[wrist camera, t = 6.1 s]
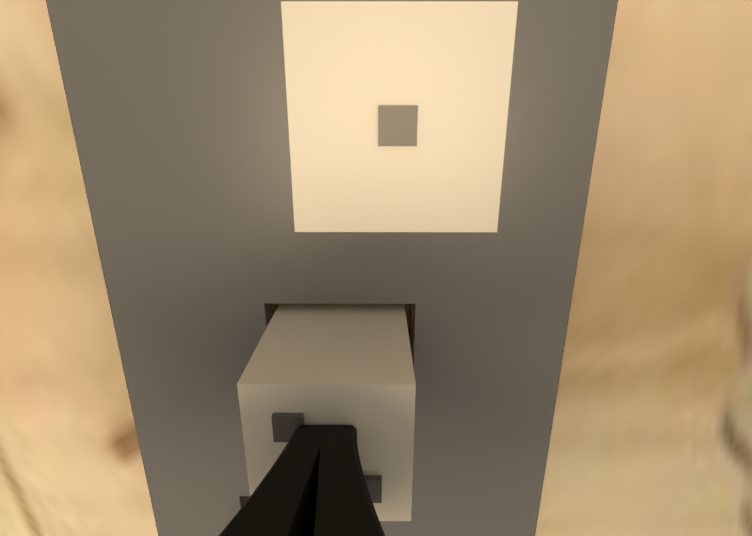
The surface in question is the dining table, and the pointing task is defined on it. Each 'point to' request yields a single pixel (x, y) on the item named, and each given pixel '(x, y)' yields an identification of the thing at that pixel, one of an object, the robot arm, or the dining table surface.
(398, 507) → the key two
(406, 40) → the key one
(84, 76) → the keypad board
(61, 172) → the dining table surface
